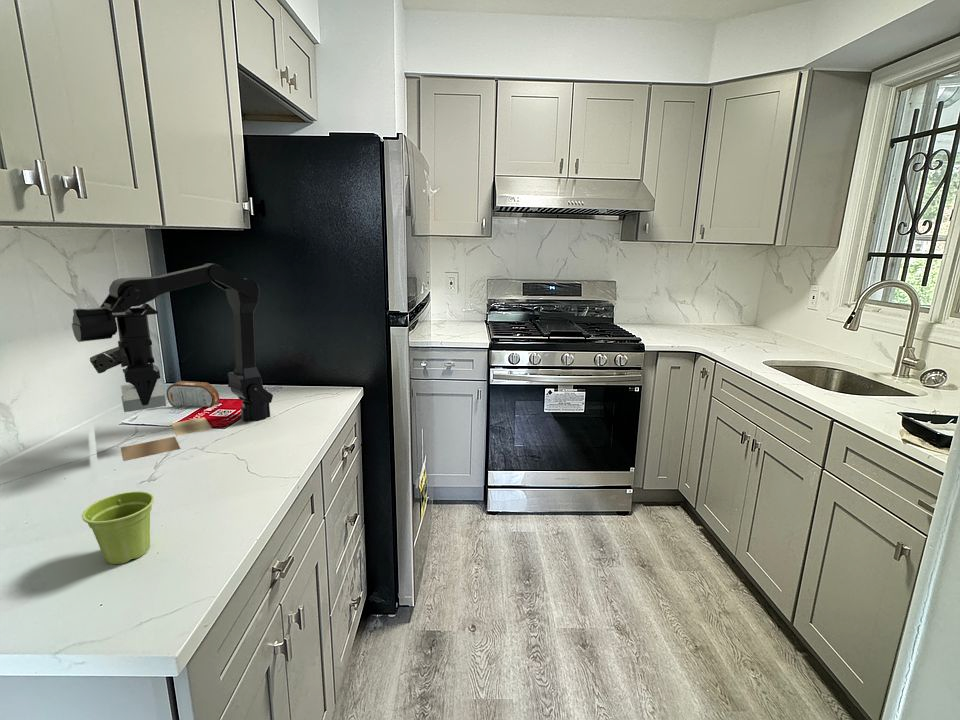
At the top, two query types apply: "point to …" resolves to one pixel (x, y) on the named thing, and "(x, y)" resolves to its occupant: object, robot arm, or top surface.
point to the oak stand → (191, 426)
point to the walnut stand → (149, 448)
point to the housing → (133, 401)
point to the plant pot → (121, 525)
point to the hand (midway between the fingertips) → (144, 401)
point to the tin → (192, 394)
